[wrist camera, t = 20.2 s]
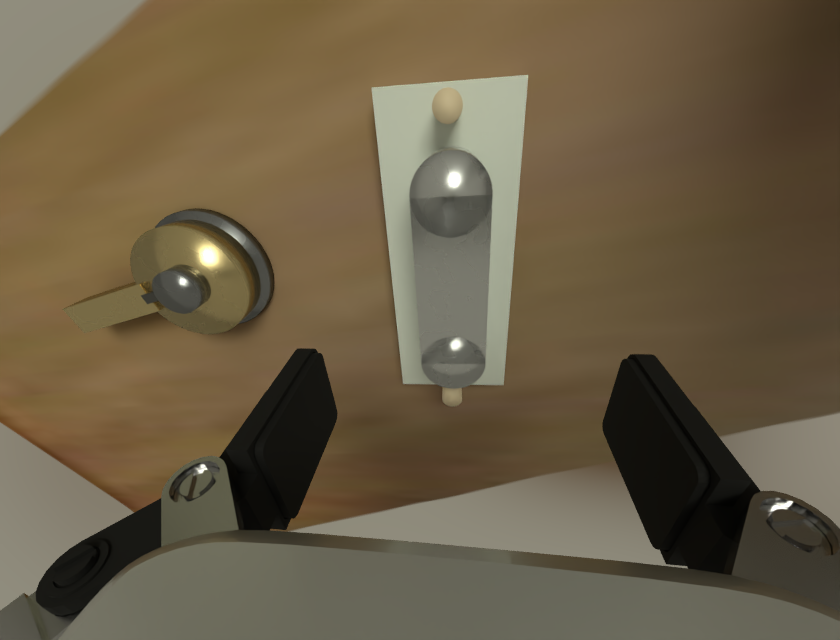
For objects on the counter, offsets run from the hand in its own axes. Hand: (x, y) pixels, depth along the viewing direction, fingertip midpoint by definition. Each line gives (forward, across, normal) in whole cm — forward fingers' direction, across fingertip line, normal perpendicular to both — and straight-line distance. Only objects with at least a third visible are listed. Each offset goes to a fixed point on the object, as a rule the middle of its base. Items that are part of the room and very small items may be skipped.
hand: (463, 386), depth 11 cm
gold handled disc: (+13, +22, +2) cm, 26 cm away
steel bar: (+13, +1, +1) cm, 13 cm away
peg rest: (+15, +1, +1) cm, 15 cm away
